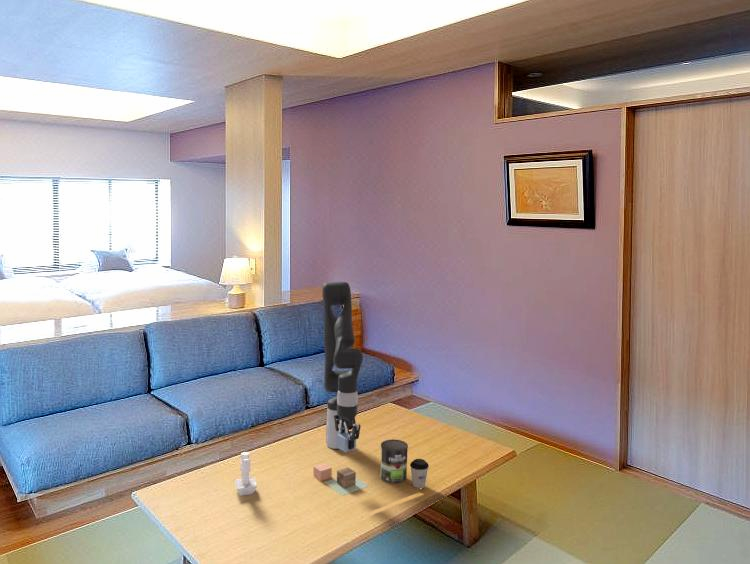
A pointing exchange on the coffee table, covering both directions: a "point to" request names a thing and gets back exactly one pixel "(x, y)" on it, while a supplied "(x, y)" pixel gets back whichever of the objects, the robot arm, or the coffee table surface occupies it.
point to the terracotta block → (322, 471)
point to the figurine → (245, 477)
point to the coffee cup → (419, 472)
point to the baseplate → (343, 491)
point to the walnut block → (346, 477)
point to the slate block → (344, 442)
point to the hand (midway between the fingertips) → (346, 446)
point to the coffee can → (393, 461)
